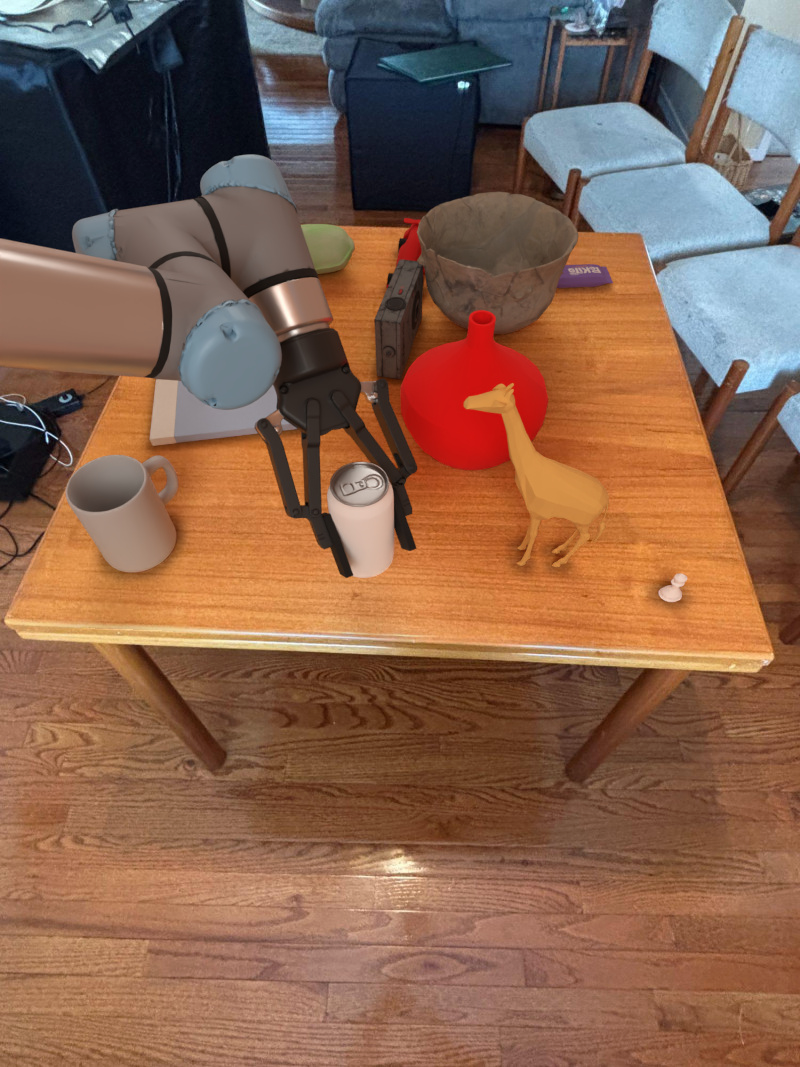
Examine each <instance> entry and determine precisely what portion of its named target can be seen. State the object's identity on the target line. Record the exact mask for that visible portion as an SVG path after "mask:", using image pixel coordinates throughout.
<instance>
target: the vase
mask: <svg viewBox="0 0 800 1067" xmlns="http://www.w3.org/2000/svg"><path fill="white" fill-rule="evenodd" d="M495 321H496V317H495V315H494V314H493V313H491V312H489V311H485V310H478V311H474V312H472V313H471V314H470V316H469V323H468V329H467V335H466V337H465V338H464V339H461V340H460V339H459V340H456V341H451V342H447V343H443V344H440V345H438V346H435V347H431V348H429V349H428V350H426V351H425V352H423V353H422V354H420V355H419V356H418V357H416V358H415V359H414V361H413V362H412V363H411V364H410V366H409V367H408V369H407V371H406V372H405V375H404V377H403V380H402V382H401V385H400V386H399V390H400V391H399V392H400V393H399V395H400V414H401V417H402V420H403V422H404V424H405V427H406V429H407V431H408V432H409V434H410V435H411V437H412V439H413V440H414V442H415V443H416V444H417V446H418V447H419V448H420V450H421V451H422V452H424V453H425V454H427V455H428V456H429V457H431V458H432V459H434V460H435V461H437V462H439V463H441V465H445V466H447V467H449V468H451V469H452V468H453V469H458V470H462V471H482V470H487V469H492V468H494V467H497V466H500V465H502V464H505V463H507V462H509V461H511V459H510V456H509V449H508V440H507V433H506V429H505V425H504V421H503V417H502V414H499V413H491V412H485V411H479V410H473V409H465V408H464V406H463V405H464V401H465V400H466V399H467V398H468V397H469V396H476V395H480V394H483V393H486V392H490V391H493V388H494V387H496V386H497V385H499V384H504V385H505V386H506V387H507V386H508V385H510V384H512V383H513V384H514V386H513V387H512V388H511V390H512V389H514V391H513V393H512V394H513V395H514V398H515V406H516V408H517V410H518V413H519V415H520V418H521V420H522V423H523V425H524V428H525V431H526V433H527V435H528V437H529V438H530V440H531V442H532V441H534V439H535V438H536V437H537V436H538V434H539V433H540V430H541V429H542V427H543V425H544V421H545V418H546V414H547V410H548V404H549V395H548V390H547V386H546V382H545V378H544V375H543V374H542V372H541V371H540V369H539V368H538V366H537V365H536V364H535V363H533V362H532V360H530V359H529V358H528V357H527V356H526V355H524V354H522V353H520V352H518V351H517V350H515V349H513V348H511V347H509V346H506V345H503V344H500V343H499V342H496V340H494V336H495V334H494V328H495Z"/></svg>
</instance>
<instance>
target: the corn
mask: <svg viewBox="0 0 800 1067" xmlns="http://www.w3.org/2000/svg"><path fill="white" fill-rule="evenodd" d="M301 228H302V231H303V234H304V237H305V240H306V243H307V246H308V249H309V252H310V255H311V258H312V261H313V264H314V267H315V271H316V272H317V275H320V274H330V273H335V272H338V271H340V270H343V269H344V268H346V267H347V265H348V264H349V262H350V260H351V258H352V257H353V256H352V255H353V253H354V252H355V248H356V245H355V241H354V240H353V238H352V237H351V236H350V235H349V234H348V233H347V231H346V230H345V229H344V228H342V227H341V226H338V225H334V224H326V223H306V224H301Z"/></svg>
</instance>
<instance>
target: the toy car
mask: <svg viewBox="0 0 800 1067" xmlns="http://www.w3.org/2000/svg"><path fill="white" fill-rule="evenodd" d="M420 221H421V219H417V218H416V219H414V218H409V217H404V218H403V223H405V224H410V227H409V228H408V229H407V230H406V231H404V233H403V237H400V238H399V239H398V248H397V253H398V254H397V258H396V264H395V267H396V266H397V264H398V262H399V260H402V259H403V260H411V261H417V260H418V258H419V257H420V255H421V252H422V250H421V245H420V242H419V238H418V234H417V230H418V226H419V223H420ZM393 273H394V272H389V273H388V274H387V279H386V284H385V288H386V289H387V288H388V285H389V283H390V280H391V278H392V276H393ZM423 274H425V269H424V266H423ZM424 277H425V276H423V285H424V282H425V281H424V280H425V278H424Z"/></svg>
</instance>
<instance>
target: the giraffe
mask: <svg viewBox="0 0 800 1067" xmlns="http://www.w3.org/2000/svg"><path fill="white" fill-rule="evenodd" d="M513 386H514V384H513V383H512V384H510V385H508V386H507V387H506V386H505V385H504V384H499V385H497V386H496V387H494V388H493V391H490V392H486V393H483V394H480V395H476V396H469V397H468V398H467V399H466V400H465V401H464V405H463V406H464V408H465V409H473V410H479V411H485V412H491V413H499V414H502V417H503V421H504V425H505V429H506V433H507V440H508V449H509V456H510V459H511V460H510V461H511V463H512V466H513V468H514V482H515V484H516V487H517V489H518V491H519V493H520V495H521V497H522V499H523V501H524V504H525V507H526V509H527V511H528V513H529V524H528V527H527V531H526V534H525V536H524V538H523V540H522V542H521V543H520V545H518V546H516V549H517V550H519V551H524V550H526V551H525V552H524V553H523V556H522V557H521V559H520V560H518V561H516V565H518V566H520V567H523V566H524V565H526V564H527V561H529V560H530V559H531V556H532V550H533V547H534V543H535V541H536V538H537V536H538V534H539V531H538V530H539V527H540V524H541V522H542V520H549V519H553V518H558V519H565V520H567V521H569V522H571V523H572V525H573V526H574V527H575V528H576V529H575V530H574V532H573V533H572V535H571V536H569V538H568V539H566V541H565V542H564V543H562V544H560V545H559V546H557V547H556V548H554V549H552V550H551V553H552V554H555V555H557V554H561V552H563V551H566V550H567V548H568V546H569V545H570V544H571V543H572V542H573V540H575V539H576V537H578V536H579V538H578V539H577V541H576V542H575V544H574V546H573V547H572V548H571V549H570V550H569V551H568V552H567V554H566V555H564V556H563V557H561V558H559V559H558V560H557V561H554V562H553V563H552V564H551V566H552V567H553V568H561V565H567V563H568V560H569V559H570V558H571V556H573V555H574V554H575V552H576V551H577V550H578V549H579V548H581V547H582V546H583V545H584V544H585V543H587V542H588V541H589V540H590V538H591V535H590V533H589V531H590V526H591V525H592V524H593V523H594V522H595V521H596V520H597V519H598V518H599V516H601V514H602V513H603V516H602V519H601V521H599V522H598V525H597V530H596V534H595V537H594V539H593V545H594V544H595V543H596V542H597V540H598V539H599V538H600V537H601V536H602V534H603V533H604V531H605V529H606V523H605V522H604V521H605V519H606V516H607V515H608V514H607V513H608V510H609V505H610V494H609V492H608V490H607V489H606V487H605V486H604V484H603V483H602V482H601V481H600V480H599V478H597V477H595V476H593V475H591V474H590V473H587V472H585V471H583V470H580V469H579V468H576V467H573V466H569V465H568V464H564V463H562V462H559V461H557V460H554V459H551V458H549V457H547V456H544V455H543V454H541V453H540V452H539V451H538V450H536V448H535V447H534V445H533V442H532V441H531V440H530V438H529V437H528V435H527V433H526V431H525V428H524V425H523V423H522V420H521V418H520V415H519V413H518V410H517V408H516V406H515V398H514V395H513V394H512V393H513V391H514V389H512V390H511V388H512V387H513Z"/></svg>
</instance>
